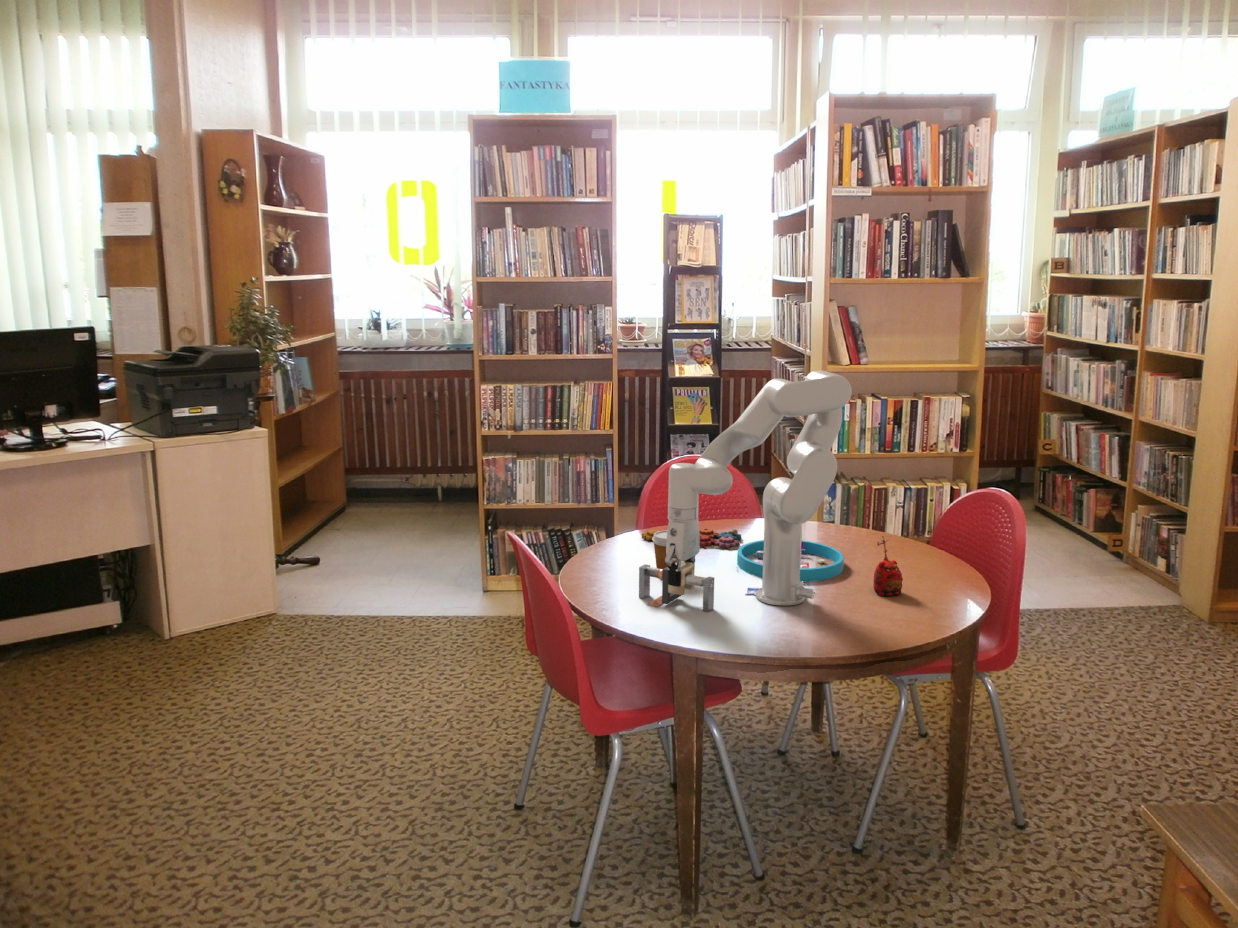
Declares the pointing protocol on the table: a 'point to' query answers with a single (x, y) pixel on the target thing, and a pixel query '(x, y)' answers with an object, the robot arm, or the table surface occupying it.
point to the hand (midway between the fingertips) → (681, 581)
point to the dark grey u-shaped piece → (665, 595)
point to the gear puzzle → (711, 538)
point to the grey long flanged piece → (706, 583)
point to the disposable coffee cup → (660, 548)
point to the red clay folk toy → (887, 576)
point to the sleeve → (683, 578)
